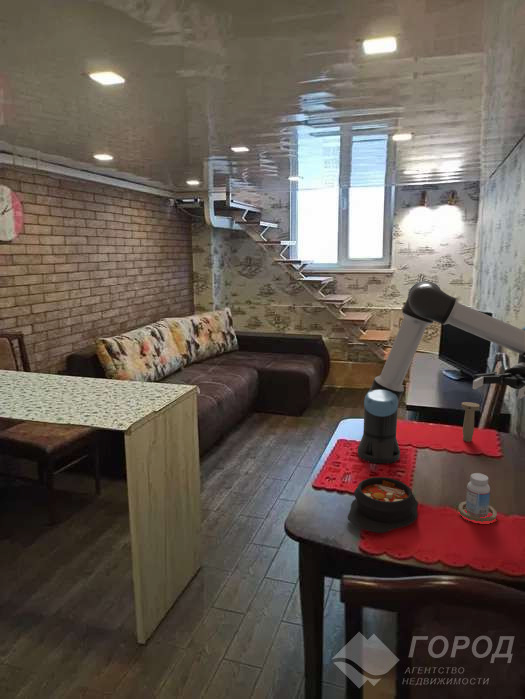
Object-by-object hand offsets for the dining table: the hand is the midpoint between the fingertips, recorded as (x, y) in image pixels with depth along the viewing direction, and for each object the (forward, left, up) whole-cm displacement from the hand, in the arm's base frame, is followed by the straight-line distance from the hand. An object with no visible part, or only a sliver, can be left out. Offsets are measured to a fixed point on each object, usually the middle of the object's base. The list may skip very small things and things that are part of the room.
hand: (496, 389), depth 152 cm
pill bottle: (-11, -17, -32) cm, 38 cm away
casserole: (-38, -18, -32) cm, 53 cm away
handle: (+8, +35, -32) cm, 49 cm away
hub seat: (-11, -18, -32) cm, 38 cm away
